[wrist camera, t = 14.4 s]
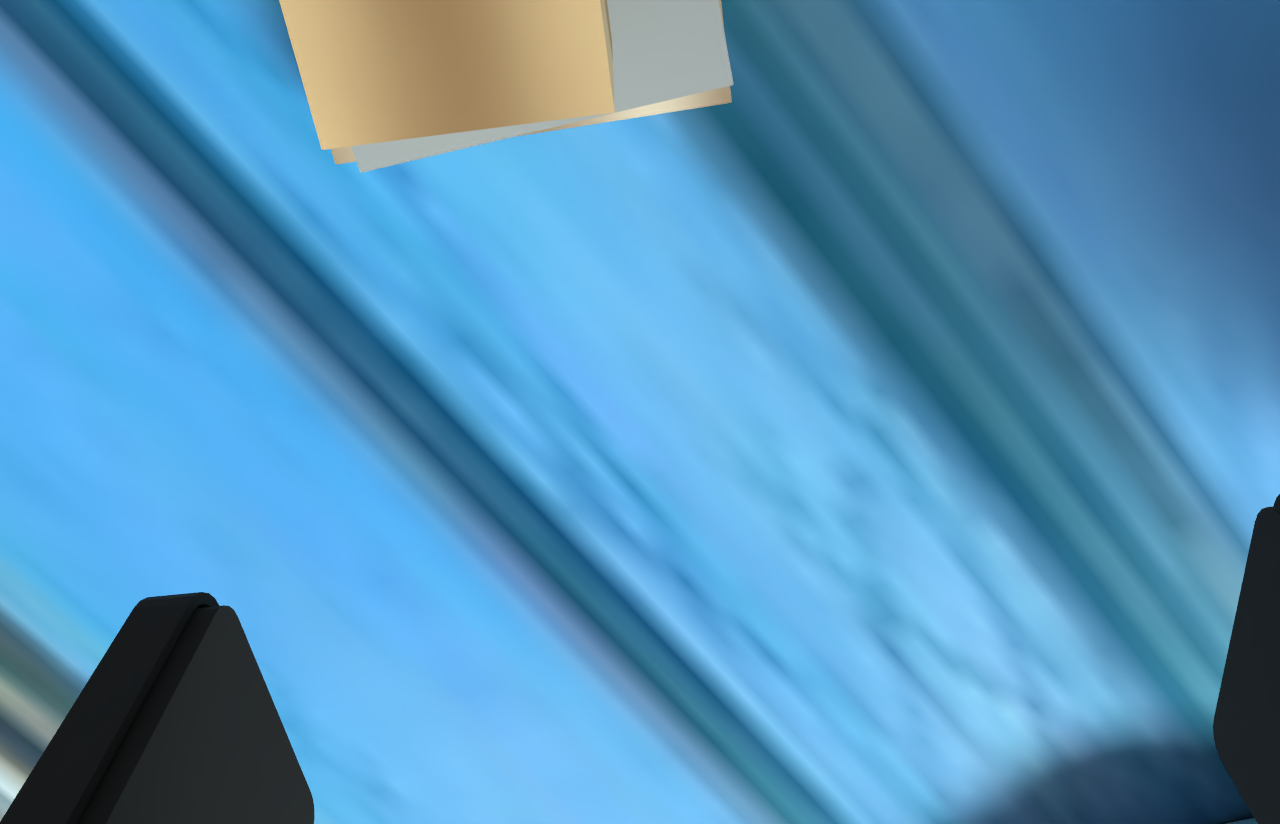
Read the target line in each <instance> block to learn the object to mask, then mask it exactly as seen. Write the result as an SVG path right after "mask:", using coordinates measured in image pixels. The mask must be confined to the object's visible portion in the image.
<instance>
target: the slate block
mask: <svg viewBox="0 0 1280 824" xmlns="http://www.w3.org/2000/svg"><path fill="white" fill-rule="evenodd" d="M607 5H608V13H609V21H610V28H611V36H612V52H613V78H614V105H615V113H616V112H620V111H625V110H629V109H633V108H637V107H641V106H646V105H650V104H654V103H658V102H663V101H667V100H671V99H675V98H680V97H684V96H688V95H692V94H697V93H701V92H705V91H709V90H714V89H718V88H722V87H726V86H731V85H734V84H733V79H732V73H731V68H730V62H729V56H728V51H727V45H726V40H725V34H724V29H723V23H722V17H721V12H720V6H719V1H718V0H607ZM608 114H612V113H608ZM608 114H600V115H592V116H584V117H576V118H569V119H561V120H553V121H545V122H537V123H529V124H521V125H514V126H506V127H498V128H490V129H482V130H474V131H466V132H459V133H451V134H443V135H435V136H427V137H419V138H411V139H403V140H396V141H388V142H380V143H372V144H364V145H356V146H351V148H352V151H353V153H354V156H355V158H356V161H357V164H358V166H359V169H360V172H361V173H362V172H366V171H370V170H374V169H378V168H383V167H387V166H391V165H395V164H400V163H404V162H408V161H412V160H417V159H421V158H425V157H429V156H434V155H438V154H442V153H446V152H451V151H455V150H459V149H463V148H468V147H472V146H476V145H480V144H485V143H489V142H493V141H497V140H502V139H506V138H510V137H514V136H518V135H523V134H527V133H531V132H535V131H540V130H544V129H548V128H552V127H557V126H561V125H565V124H569V123H574V122H578V121H582V120H586V119H591V118H595V117H599V116H603V115H608Z"/></svg>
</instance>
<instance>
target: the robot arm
mask: <svg viewBox="0 0 1280 824" xmlns="http://www.w3.org/2000/svg"><path fill="white" fill-rule="evenodd" d="M1213 732H1214V740H1215V744H1216V748H1217V751H1218V754H1219V757H1220V759H1221V761H1222V763H1223V765H1224V767H1225V769H1226V771H1227V772H1228V774H1229V776H1230V777H1231V779H1232V781H1233V782H1234V784H1235V786H1236V788H1237V789H1238V791H1239V793H1240V794H1241V796H1242V798H1243V800H1244V801H1245V803H1246V805H1247V806H1248V808H1249V810H1250V811H1251V813H1252V815H1253V817H1254V818H1255V820H1256V822H1257V823H1258V824H1280V494H1279V496H1278V497H1277V498H1276V500H1275V503H1274V506H1273V507H1267V508H1264V509H1262V510H1261V511H1260V512H1259V513H1258V515H1257V518H1256V521H1255V525H1254V529H1253V534H1252V539H1251V544H1250V549H1249V553H1248V558H1247V563H1246V568H1245V573H1244V577H1243V582H1242V587H1241V592H1240V597H1239V601H1238V606H1237V611H1236V616H1235V620H1234V625H1233V630H1232V635H1231V640H1230V644H1229V649H1228V654H1227V659H1226V664H1225V668H1224V673H1223V678H1222V683H1221V688H1220V692H1219V697H1218V702H1217V707H1216V712H1215V716H1214V724H1213ZM0 824H314V803H313V798H312V795H311V792H310V789H309V787H308V784H307V782H306V780H305V777H304V775H303V772H302V770H301V768H300V765H299V763H298V760H297V758H296V756H295V753H294V751H293V748H292V746H291V744H290V741H289V739H288V736H287V734H286V732H285V729H284V727H283V724H282V722H281V720H280V717H279V715H278V712H277V710H276V708H275V705H274V703H273V700H272V698H271V696H270V693H269V691H268V688H267V686H266V683H265V681H264V679H263V676H262V674H261V671H260V669H259V667H258V664H257V662H256V659H255V657H254V655H253V652H252V650H251V647H250V645H249V643H248V640H247V638H246V635H245V633H244V631H243V628H242V626H241V623H240V621H239V619H238V616H237V615H236V613H235V611H234V610H233V609H232V608H231V607H230V606H219V604H218V603H217V601H216V599H215V598H214V597H213V596H211V595H210V594H209V593H204V592H199V593H189V594H178V595H168V596H157V597H147V598H145V599H143V600H141V601H140V602H139V603H138V604H137V605H136V606H135V607H134V609H133V610H132V612H131V613H130V615H129V617H128V618H127V620H126V621H125V623H124V625H123V626H122V628H121V629H120V631H119V633H118V634H117V636H116V637H115V639H114V641H113V642H112V644H111V645H110V647H109V649H108V650H107V652H106V653H105V655H104V657H103V658H102V660H101V661H100V663H99V665H98V666H97V668H96V669H95V671H94V673H93V674H92V676H91V677H90V679H89V681H88V682H87V684H86V685H85V687H84V689H83V690H82V692H81V693H80V695H79V697H78V698H77V700H76V701H75V703H74V705H73V706H72V708H71V709H70V711H69V713H68V714H67V716H66V717H65V719H64V721H63V722H62V724H61V725H60V727H59V729H58V730H57V732H56V734H55V735H54V737H53V738H52V740H51V742H50V743H49V745H48V746H47V748H46V750H45V751H44V753H43V754H42V756H41V758H40V759H39V761H38V762H37V764H36V766H35V767H34V769H33V770H32V772H31V774H30V775H29V777H28V778H27V780H26V782H25V783H24V785H23V786H22V788H21V790H20V791H19V793H18V794H17V796H16V798H15V799H14V801H13V802H12V804H11V806H10V807H9V809H8V810H7V812H6V814H5V815H4V817H3V818H2V820H1V822H0Z"/></svg>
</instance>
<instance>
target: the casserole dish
mask: <svg viewBox="0 0 1280 824" xmlns="http://www.w3.org/2000/svg"><path fill="white" fill-rule="evenodd" d="M1226 824H1258V823H1257V822H1256V820H1255V818H1251V819H1246V820H1241V821H1236V822H1231V823H1226Z"/></svg>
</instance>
